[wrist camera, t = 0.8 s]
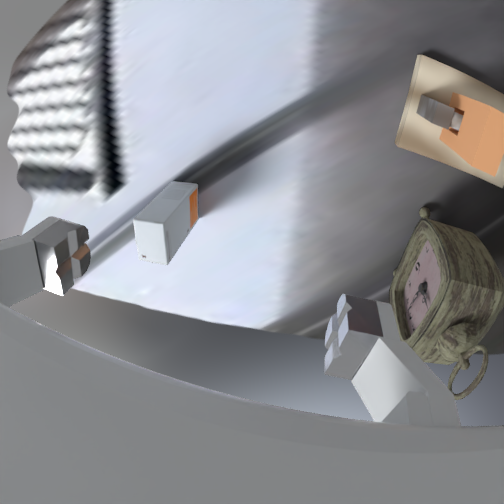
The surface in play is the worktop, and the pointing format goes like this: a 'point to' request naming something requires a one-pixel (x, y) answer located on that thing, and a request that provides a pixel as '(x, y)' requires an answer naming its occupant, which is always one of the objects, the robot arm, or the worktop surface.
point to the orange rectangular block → (476, 134)
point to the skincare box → (166, 222)
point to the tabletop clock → (446, 296)
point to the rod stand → (442, 113)
